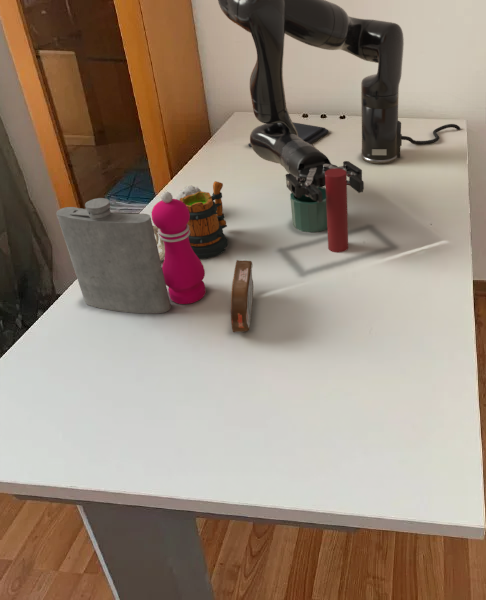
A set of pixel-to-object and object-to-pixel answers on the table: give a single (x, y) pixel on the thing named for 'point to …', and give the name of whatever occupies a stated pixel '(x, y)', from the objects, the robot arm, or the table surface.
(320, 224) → the tumbler
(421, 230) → the table surface
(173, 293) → the pepper mill
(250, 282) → the tin
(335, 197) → the candle
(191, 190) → the frog figurine
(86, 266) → the hip flask
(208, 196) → the mug
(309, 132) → the wallet
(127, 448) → the table surface
